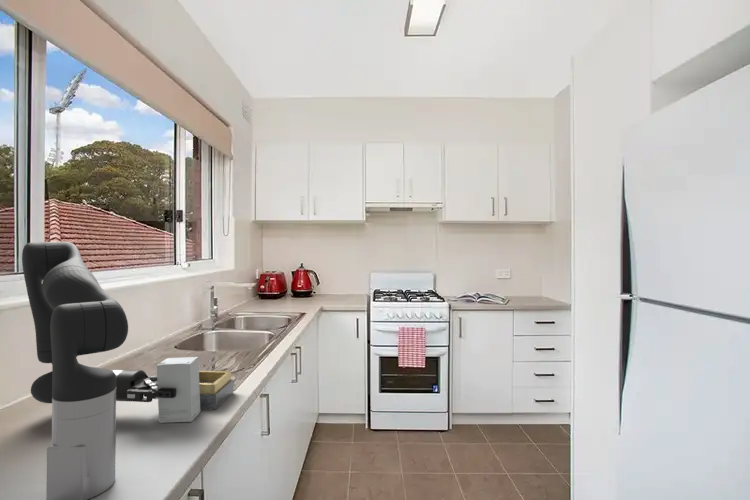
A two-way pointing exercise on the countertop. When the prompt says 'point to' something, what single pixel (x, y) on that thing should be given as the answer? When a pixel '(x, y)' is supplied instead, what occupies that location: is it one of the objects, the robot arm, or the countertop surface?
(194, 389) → the skincare box
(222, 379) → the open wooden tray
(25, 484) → the countertop surface
